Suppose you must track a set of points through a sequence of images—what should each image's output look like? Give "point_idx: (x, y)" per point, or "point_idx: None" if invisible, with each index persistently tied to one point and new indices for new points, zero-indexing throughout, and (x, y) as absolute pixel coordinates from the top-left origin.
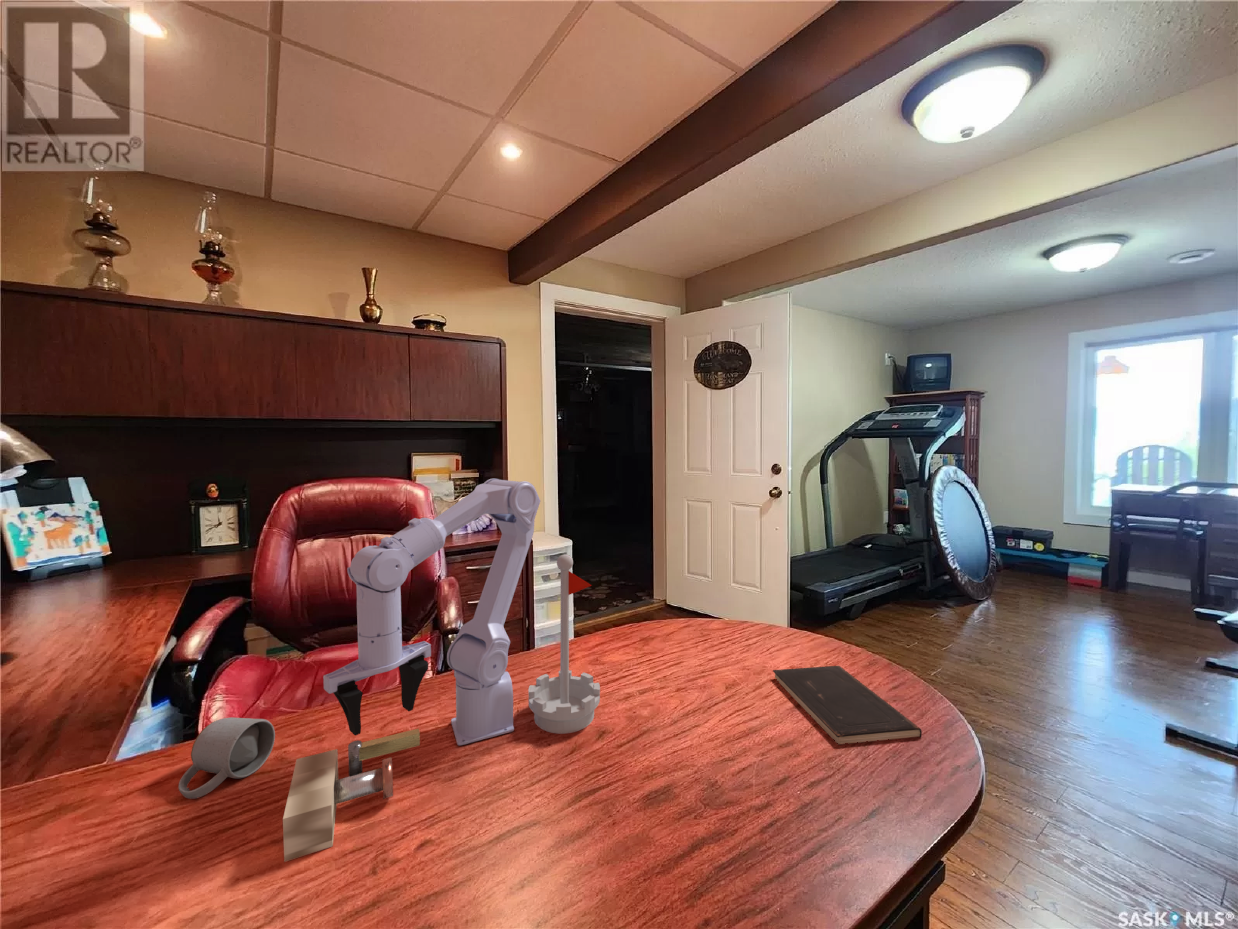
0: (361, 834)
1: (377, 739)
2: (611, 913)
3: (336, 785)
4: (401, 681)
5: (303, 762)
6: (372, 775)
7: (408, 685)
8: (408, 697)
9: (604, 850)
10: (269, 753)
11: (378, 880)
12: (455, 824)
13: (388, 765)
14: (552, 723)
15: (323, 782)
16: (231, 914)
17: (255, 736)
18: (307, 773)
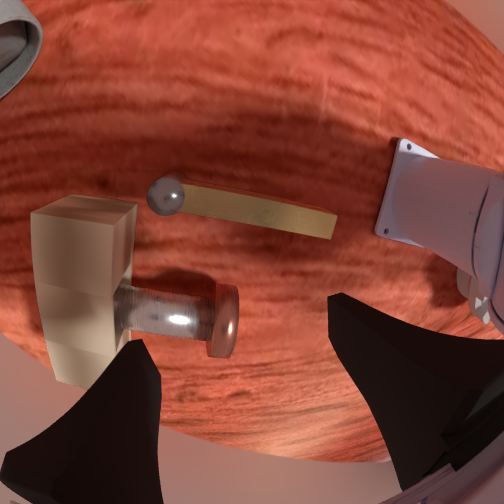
0: (168, 349)
1: (229, 196)
2: (321, 459)
3: (121, 326)
4: (387, 344)
5: (44, 239)
6: (190, 336)
7: (378, 396)
8: (352, 366)
9: (356, 432)
10: (39, 45)
11: (183, 408)
12: (282, 385)
13: (224, 354)
14: (466, 290)
15: (94, 339)
16: (50, 366)
17: (1, 35)
18: (58, 291)
